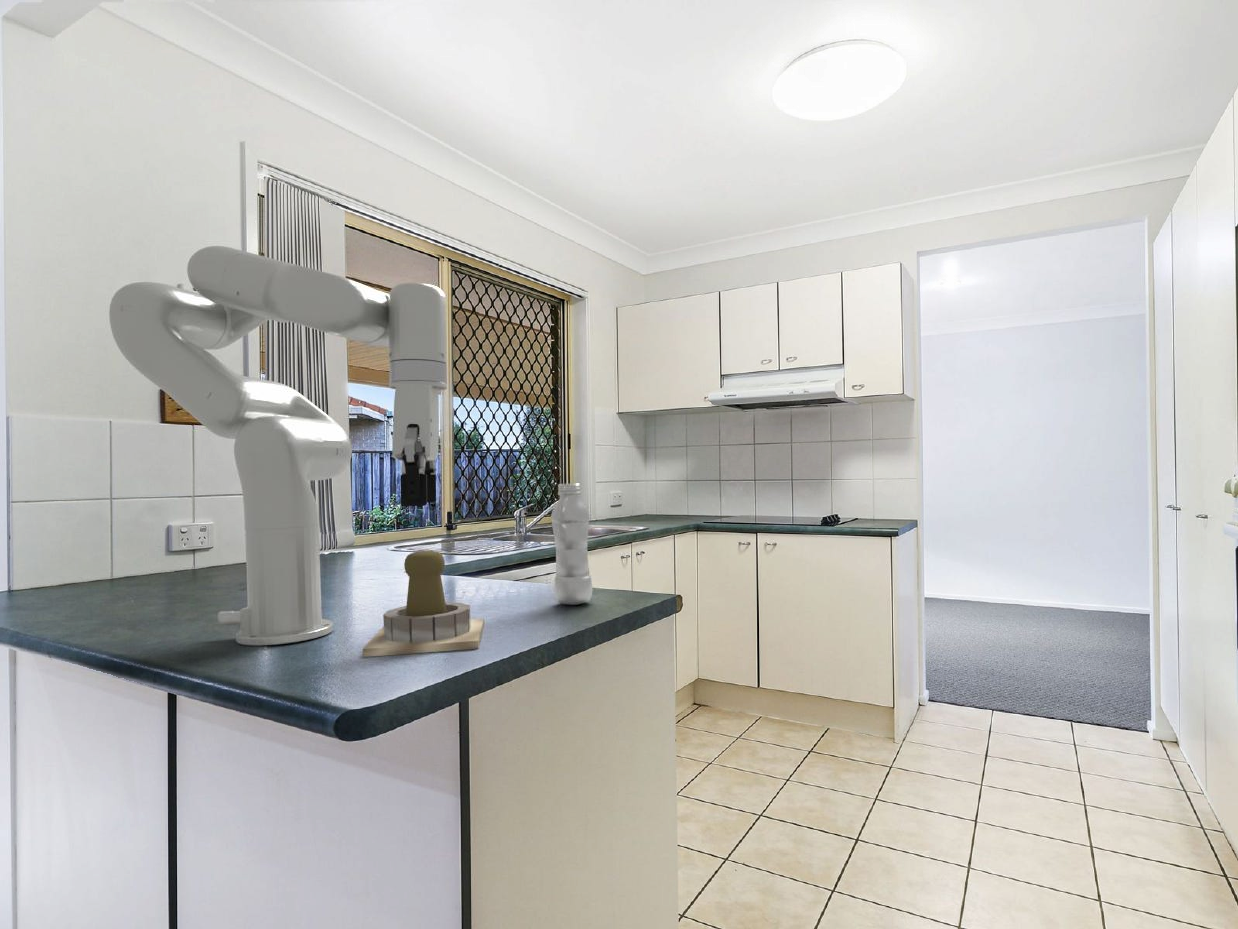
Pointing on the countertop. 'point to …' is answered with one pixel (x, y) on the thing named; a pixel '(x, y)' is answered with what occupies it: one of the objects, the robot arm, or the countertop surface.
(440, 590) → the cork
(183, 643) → the countertop surface
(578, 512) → the plastic bottle
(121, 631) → the countertop surface
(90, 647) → the countertop surface
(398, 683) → the countertop surface
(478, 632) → the ring collar
